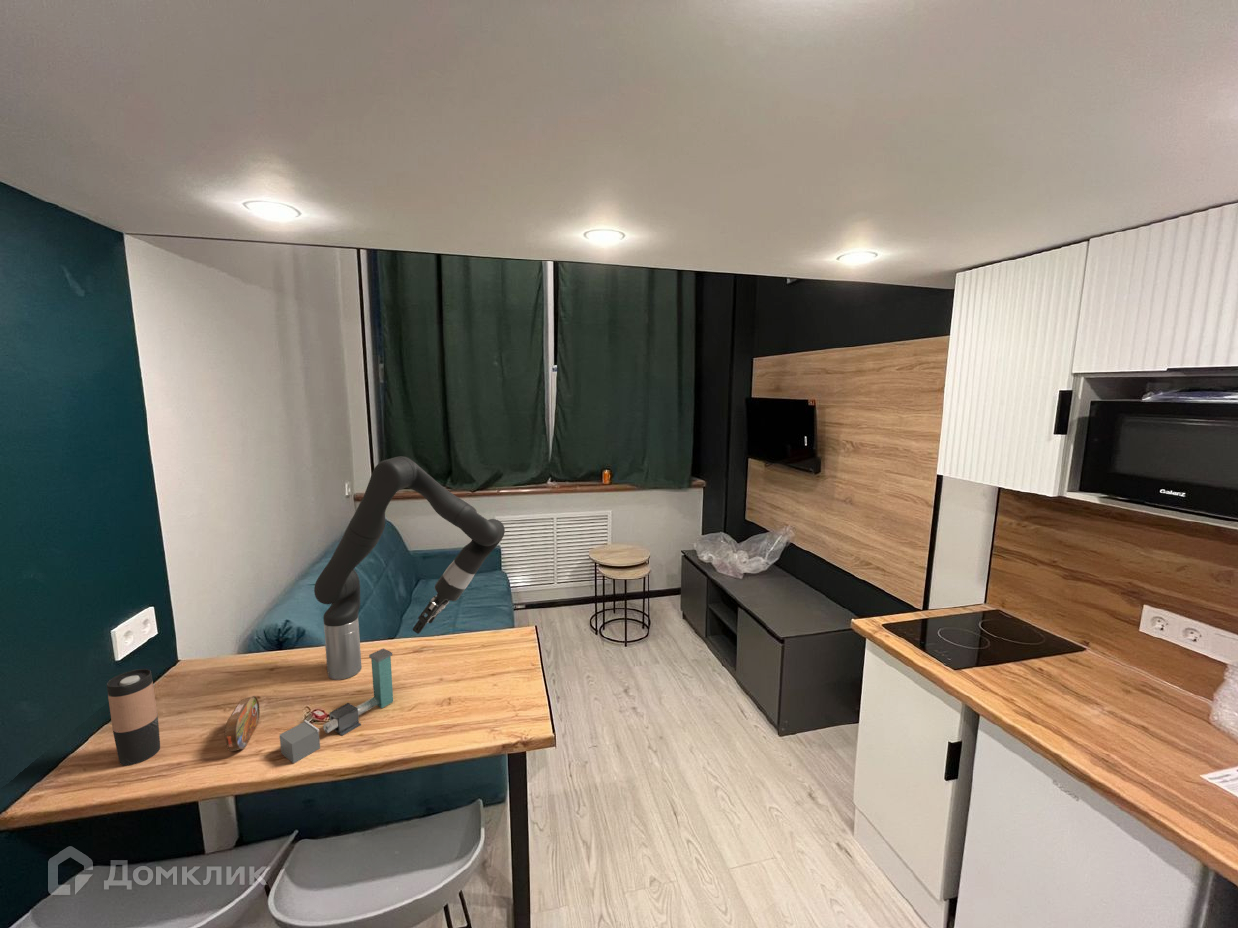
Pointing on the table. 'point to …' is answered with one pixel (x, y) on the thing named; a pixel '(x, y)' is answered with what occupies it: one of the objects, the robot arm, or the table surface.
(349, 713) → the sleeve
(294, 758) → the socket
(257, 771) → the table surface
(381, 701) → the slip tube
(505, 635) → the table surface
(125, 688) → the travel mug
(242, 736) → the tin
